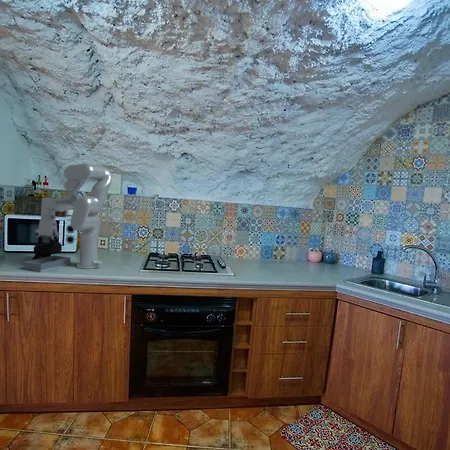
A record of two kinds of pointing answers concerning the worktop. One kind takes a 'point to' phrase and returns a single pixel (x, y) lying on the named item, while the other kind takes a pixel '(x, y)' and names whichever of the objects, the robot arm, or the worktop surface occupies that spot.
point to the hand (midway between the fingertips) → (46, 244)
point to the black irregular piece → (46, 250)
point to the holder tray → (46, 263)
